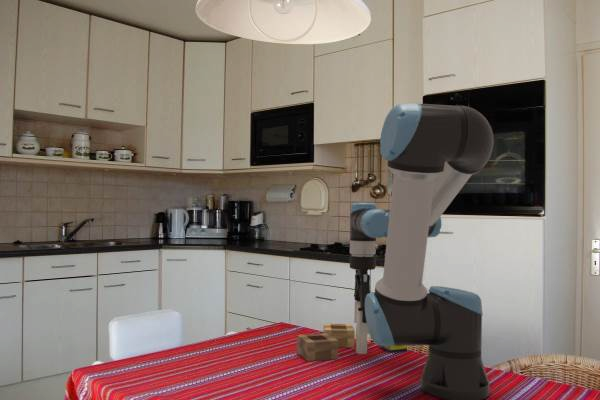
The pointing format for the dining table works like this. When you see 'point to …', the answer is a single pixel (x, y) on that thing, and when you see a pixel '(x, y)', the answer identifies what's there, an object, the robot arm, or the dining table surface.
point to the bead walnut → (317, 347)
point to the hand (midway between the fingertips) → (361, 328)
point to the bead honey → (341, 333)
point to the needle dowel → (360, 335)
